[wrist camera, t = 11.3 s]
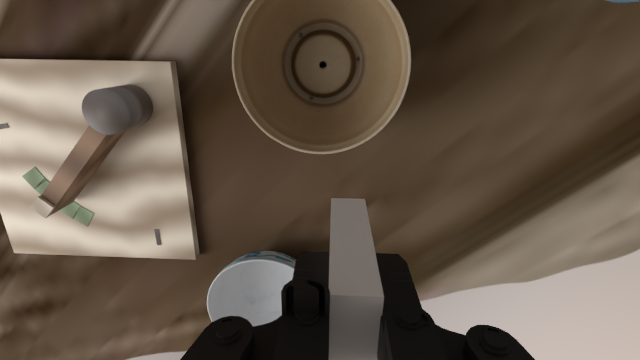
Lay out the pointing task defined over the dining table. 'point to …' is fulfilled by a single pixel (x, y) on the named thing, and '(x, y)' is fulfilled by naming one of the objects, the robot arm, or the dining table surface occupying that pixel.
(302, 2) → the planter bowl
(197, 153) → the dining table surface
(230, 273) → the chinaware
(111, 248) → the gauge board
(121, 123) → the gauge needle
